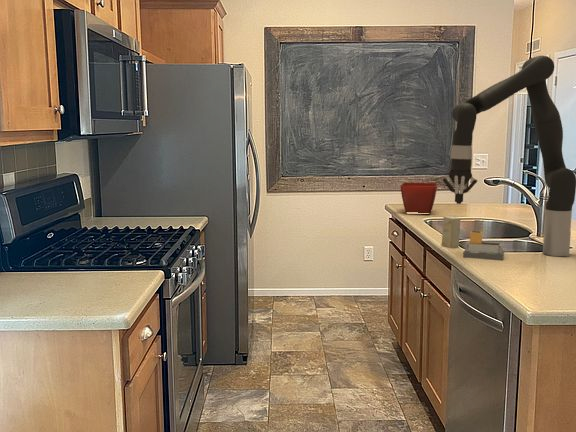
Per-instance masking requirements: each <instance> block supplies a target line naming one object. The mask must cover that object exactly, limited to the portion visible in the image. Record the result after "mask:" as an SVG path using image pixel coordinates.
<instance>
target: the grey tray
mask: <svg viewBox="0 0 576 432" xmlns="http://www.w3.org/2000/svg"><path fill="white" fill-rule="evenodd" d="M503 247H504V245H503V242H492V241H491V242H490V241H482V244H471V243H470V240H467V241H466V243H465V249H464V250H463V252H462V257H463V258H469V259H470V258H471V259H482V260H493V261H494V260H495V261H504V257H505V250H503Z"/></svg>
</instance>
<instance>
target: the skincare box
mask: <svg viewBox="0 0 576 432" xmlns="http://www.w3.org/2000/svg"><path fill="white" fill-rule="evenodd" d="M442 218H443V219H442V221H443V222H442V234H441V246H443V247H446V248H449V249H456V248H460V247H459V246H460V232H461V217H457V216H452V215H451V216H450V215H449V216H448V215H447V216H443V217H442Z"/></svg>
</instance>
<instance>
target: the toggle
mask: <svg viewBox="0 0 576 432" xmlns="http://www.w3.org/2000/svg"><path fill="white" fill-rule="evenodd" d="M469 233H470V234H469V236H470V237H469V241H470V243H471V244H482V242H483V234H484V233H483V231H482V230H480V229H479V230H477V229H472V230H471V231H470V232H469Z"/></svg>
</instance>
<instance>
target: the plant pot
mask: <svg viewBox="0 0 576 432" xmlns="http://www.w3.org/2000/svg"><path fill="white" fill-rule="evenodd" d="M437 189H438V182H403V183H402V184H400V192H401V199H402V203H403V207H404V210H405V213H406V212H418V213H430V214H431V213H432V211H433V207H434V203H435V199H436V195H437ZM431 210H432V211H431Z"/></svg>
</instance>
